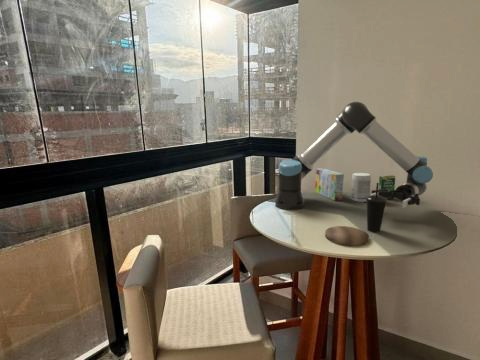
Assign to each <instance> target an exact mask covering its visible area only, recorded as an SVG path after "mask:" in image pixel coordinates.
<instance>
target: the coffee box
mask: <svg viewBox="0 0 480 360" xmlns="http://www.w3.org/2000/svg"><path fill="white" fill-rule="evenodd" d="M378 183H379V184H378V190H384V189H390V190H395V188H396V187H395V186H396V176H395V175H392V174H391V175H380V176H379V180H378ZM390 190H389V191H390ZM392 196H393V195H392ZM384 198H386V199H387V200H393V199H395V198H390V197H384Z"/></svg>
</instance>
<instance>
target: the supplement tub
mask: <svg viewBox="0 0 480 360" xmlns="http://www.w3.org/2000/svg"><path fill="white" fill-rule="evenodd" d="M351 175H352V176H351V177H352V178H351V195H350V196H351V197H350V199H351V200H352V201H353V202H354V201H355V202H357V203H358V202H359V203H360V202H361V203H363V202H366V203H367V200H366V197H368V196H370V194H371V181H372V179H371V178H372V177H371V174H370V173H366V172H355V173H352V174H351Z"/></svg>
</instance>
